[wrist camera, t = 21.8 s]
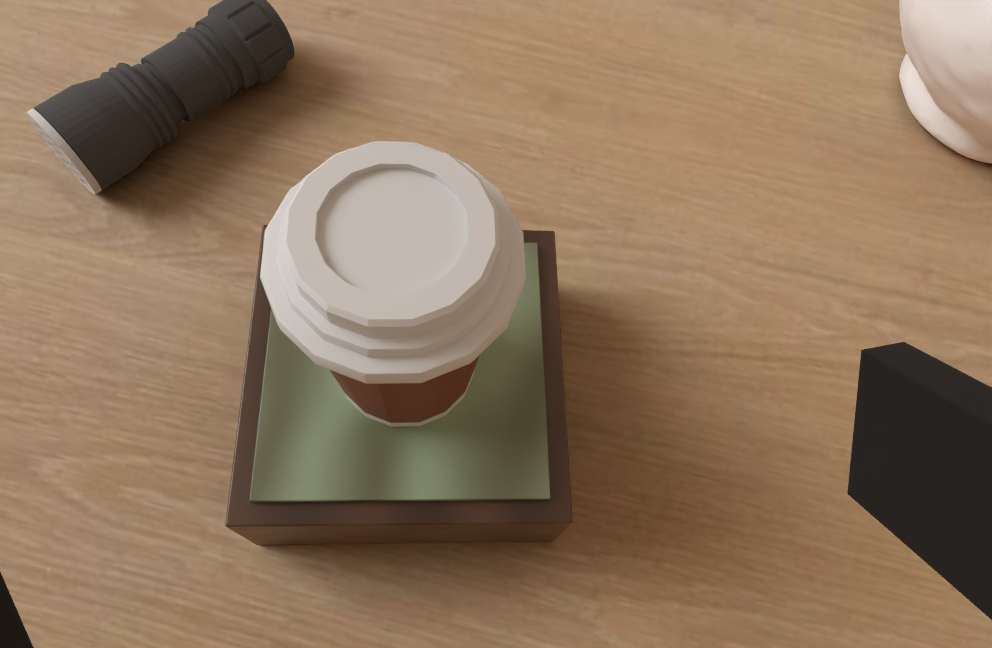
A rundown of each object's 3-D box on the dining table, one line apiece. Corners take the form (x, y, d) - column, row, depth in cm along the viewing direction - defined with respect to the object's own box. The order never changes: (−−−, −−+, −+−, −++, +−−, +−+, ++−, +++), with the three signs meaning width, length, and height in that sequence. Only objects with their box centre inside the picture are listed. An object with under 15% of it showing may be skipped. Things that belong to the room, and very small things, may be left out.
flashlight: (256, 30, 50) (236, -37, 45) (308, 76, 49) (294, 12, 44) (55, 155, 45) (8, 94, 40) (108, 210, 44) (66, 154, 39)
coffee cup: (433, 244, 37) (431, 74, 26) (541, 385, 34) (590, 260, 24) (271, 337, 34) (194, 190, 24) (375, 497, 32) (343, 416, 21)
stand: (256, 545, 37) (222, 525, 31) (284, 278, 43) (260, 220, 37) (553, 541, 38) (574, 521, 32) (540, 282, 44) (555, 226, 38)
